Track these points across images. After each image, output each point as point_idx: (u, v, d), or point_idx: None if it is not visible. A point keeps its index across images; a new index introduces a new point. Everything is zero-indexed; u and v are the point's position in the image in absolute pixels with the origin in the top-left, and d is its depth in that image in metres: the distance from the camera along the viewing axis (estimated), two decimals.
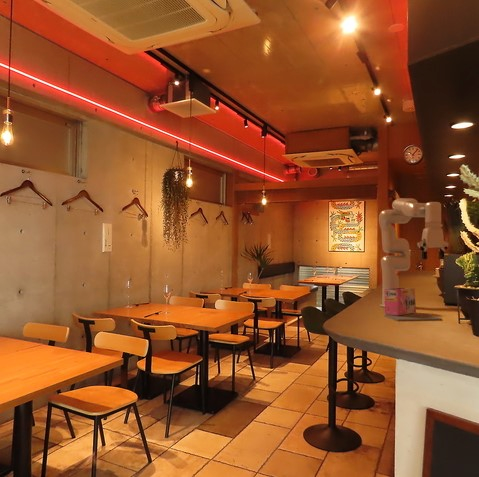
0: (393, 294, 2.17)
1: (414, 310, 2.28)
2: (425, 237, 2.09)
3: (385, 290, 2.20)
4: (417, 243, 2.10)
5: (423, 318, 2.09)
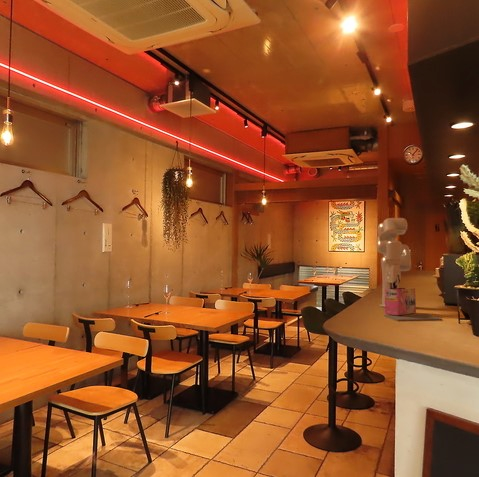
0: (393, 294, 2.16)
1: (414, 310, 2.28)
2: (399, 273, 2.29)
3: (385, 289, 2.20)
4: (397, 284, 2.28)
5: (423, 318, 2.09)
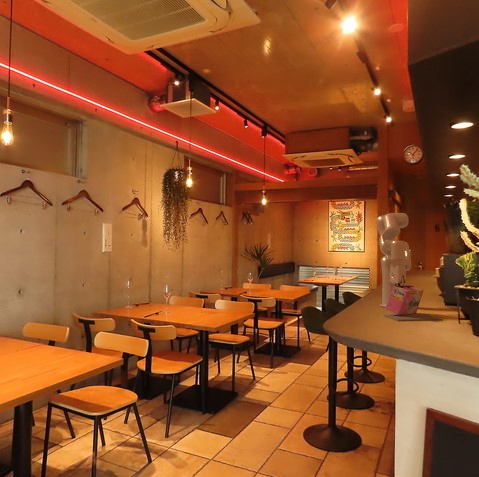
0: (401, 294, 2.14)
1: (415, 311, 2.28)
2: (404, 274, 2.24)
3: (394, 286, 2.17)
4: (402, 285, 2.23)
5: (423, 318, 2.09)
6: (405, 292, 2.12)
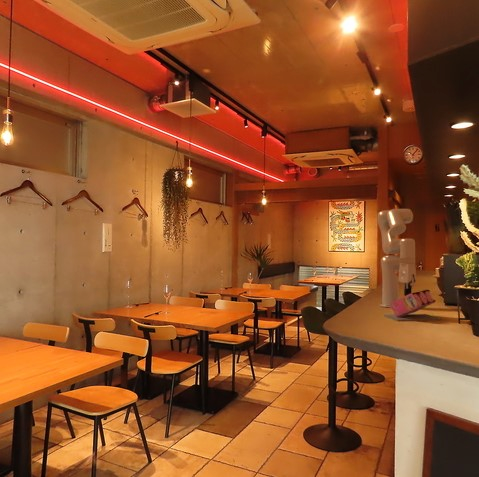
0: (412, 304, 2.06)
1: (414, 311, 2.25)
2: (414, 273, 2.15)
3: (411, 294, 2.06)
4: (412, 285, 2.14)
5: (423, 318, 2.09)
6: (417, 306, 2.04)
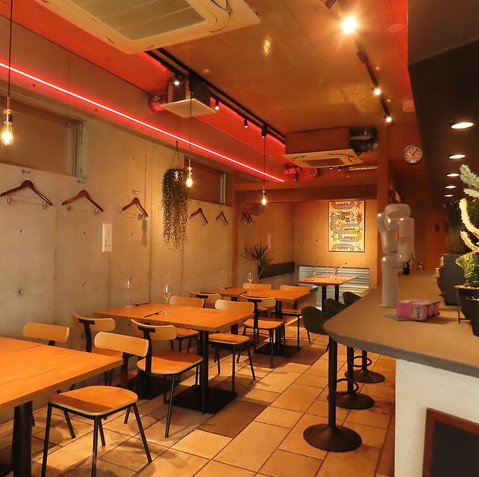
0: (417, 315, 2.04)
1: None
2: (412, 252, 2.16)
3: (422, 306, 2.02)
4: (411, 263, 2.15)
5: None
6: (421, 319, 2.02)
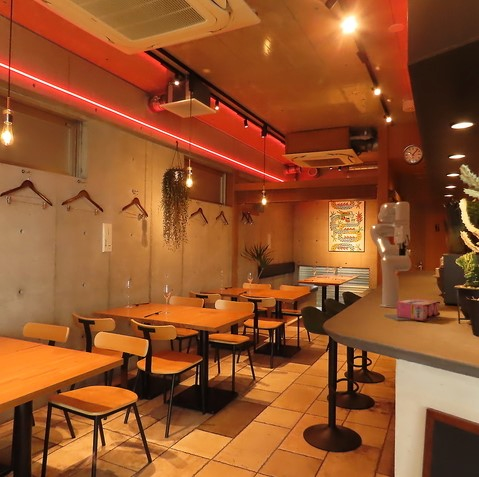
0: (417, 314, 2.04)
1: None
2: (408, 233, 2.29)
3: (422, 306, 2.02)
4: (406, 244, 2.29)
5: None
6: (421, 319, 2.02)
